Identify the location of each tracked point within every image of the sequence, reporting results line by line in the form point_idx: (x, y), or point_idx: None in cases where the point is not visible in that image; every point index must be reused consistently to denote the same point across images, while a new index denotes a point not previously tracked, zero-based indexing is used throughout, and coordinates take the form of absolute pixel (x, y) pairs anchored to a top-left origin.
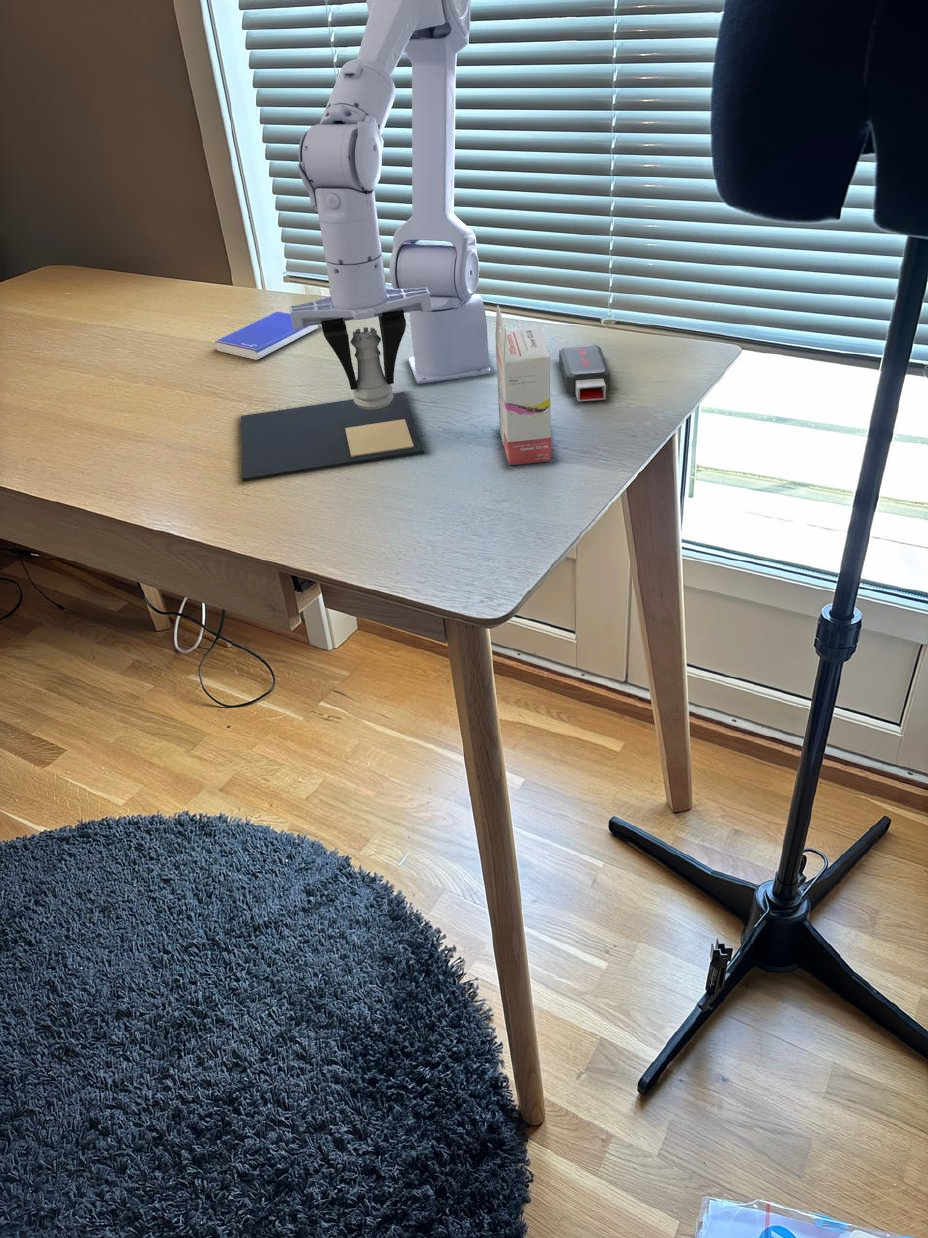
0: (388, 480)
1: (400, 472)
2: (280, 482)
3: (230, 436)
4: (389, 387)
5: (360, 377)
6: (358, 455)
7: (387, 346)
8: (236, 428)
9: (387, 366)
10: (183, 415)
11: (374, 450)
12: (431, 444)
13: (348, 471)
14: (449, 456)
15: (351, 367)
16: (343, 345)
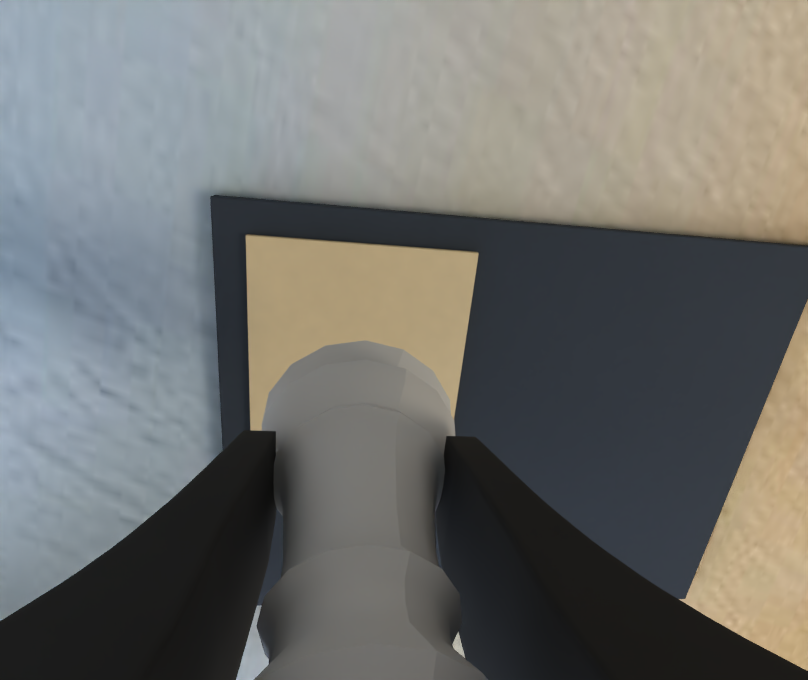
0: (384, 30)
1: (327, 78)
2: (724, 193)
3: (737, 516)
4: (270, 425)
5: (427, 481)
6: (452, 250)
7: (158, 604)
8: (708, 550)
9: (239, 485)
10: (787, 641)
11: (392, 258)
12: (179, 256)
13: (504, 174)
14: (116, 129)
15: (506, 506)
16: (663, 662)
